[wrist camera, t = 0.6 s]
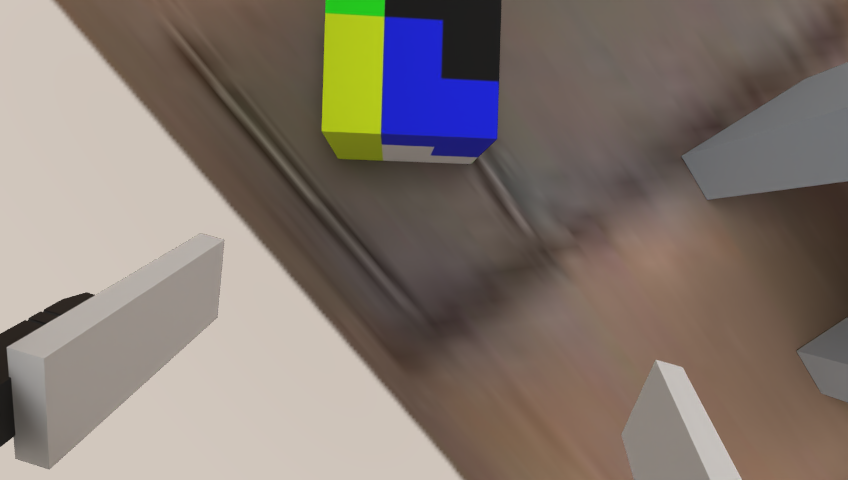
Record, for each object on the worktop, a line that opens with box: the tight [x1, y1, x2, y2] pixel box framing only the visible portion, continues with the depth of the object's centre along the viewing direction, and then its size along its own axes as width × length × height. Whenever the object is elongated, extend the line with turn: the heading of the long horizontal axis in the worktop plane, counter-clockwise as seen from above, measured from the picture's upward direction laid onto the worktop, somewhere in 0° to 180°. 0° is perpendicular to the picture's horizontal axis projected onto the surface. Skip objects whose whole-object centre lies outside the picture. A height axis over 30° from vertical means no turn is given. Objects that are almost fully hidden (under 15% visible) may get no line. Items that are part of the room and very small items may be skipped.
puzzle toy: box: [322, 0, 501, 164], centre depth 35 cm, size 10×10×10 cm
